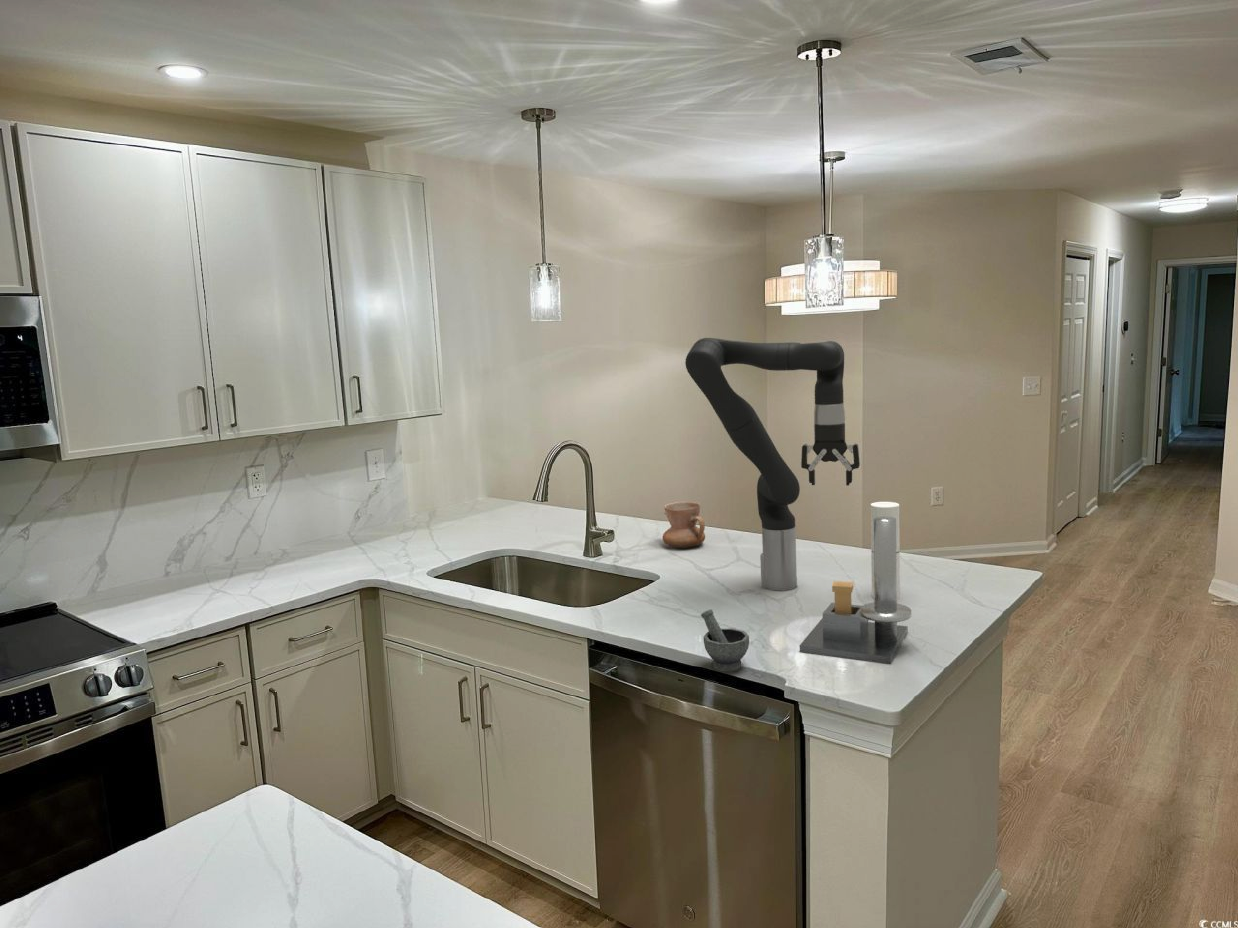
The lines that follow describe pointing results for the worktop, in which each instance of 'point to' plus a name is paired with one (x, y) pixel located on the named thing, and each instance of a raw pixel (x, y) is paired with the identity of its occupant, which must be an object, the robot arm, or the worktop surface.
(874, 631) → the grey fixture with cylinder
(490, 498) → the worktop surface
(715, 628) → the mortar and pestle
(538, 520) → the worktop surface
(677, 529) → the ceramic jug
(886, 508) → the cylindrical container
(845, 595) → the orange square peg
